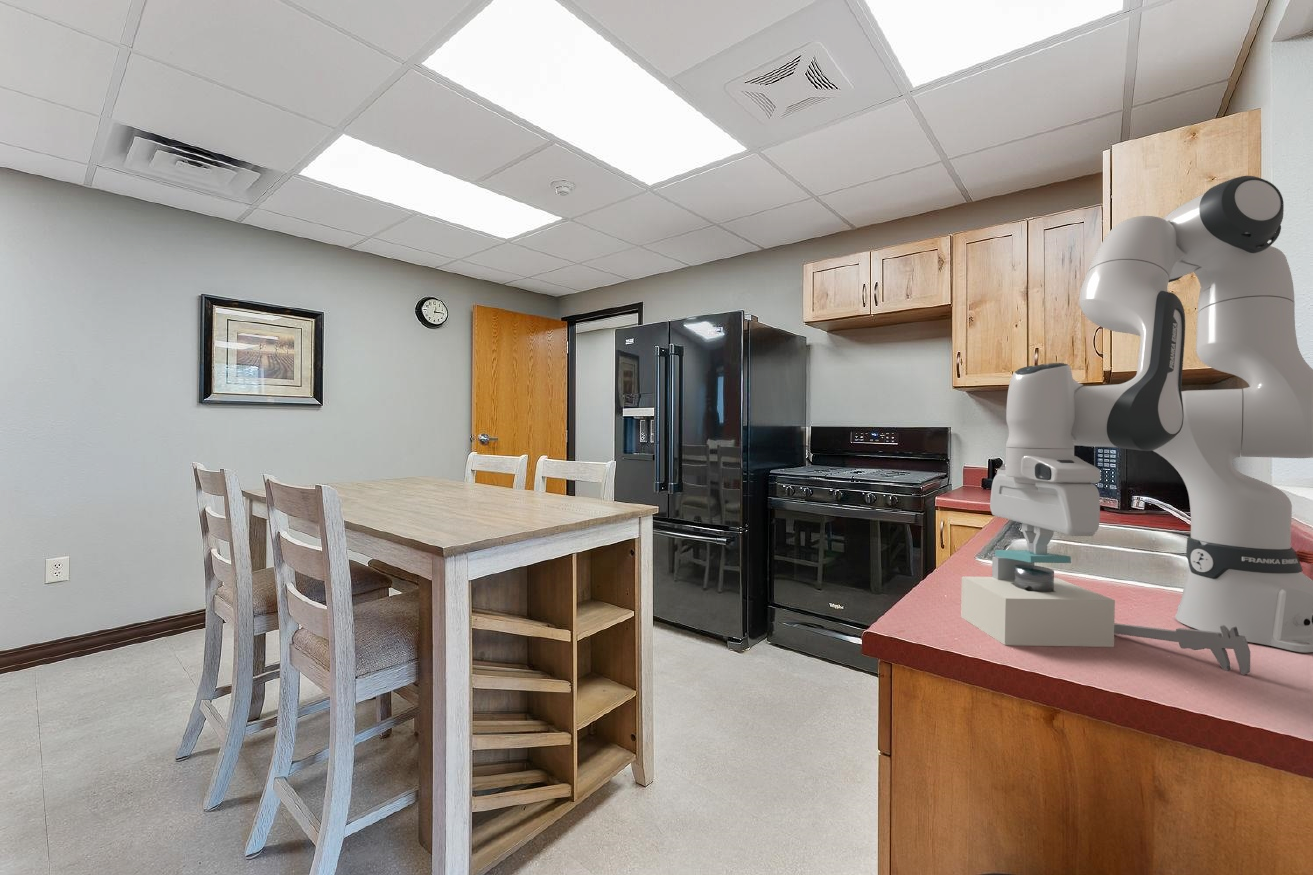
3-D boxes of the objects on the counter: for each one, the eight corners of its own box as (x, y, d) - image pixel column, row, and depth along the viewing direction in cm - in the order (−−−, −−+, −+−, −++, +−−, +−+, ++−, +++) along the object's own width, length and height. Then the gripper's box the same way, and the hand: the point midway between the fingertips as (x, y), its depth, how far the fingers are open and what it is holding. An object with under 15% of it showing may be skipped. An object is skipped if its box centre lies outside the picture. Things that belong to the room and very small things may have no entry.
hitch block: (1055, 618, 93) (1057, 557, 92) (1113, 646, 81) (1115, 576, 80) (961, 617, 93) (962, 555, 93) (1004, 645, 81) (1006, 574, 81)
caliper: (1250, 676, 72) (1251, 629, 72) (1246, 678, 71) (1247, 630, 71) (1076, 625, 90) (1077, 587, 90) (1072, 626, 90) (1073, 588, 90)
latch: (1031, 556, 91) (1031, 550, 92) (1070, 563, 82) (1070, 556, 83) (995, 555, 92) (994, 549, 92) (1031, 562, 83) (1030, 555, 83)
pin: (1038, 622, 89) (1039, 564, 89) (1061, 634, 84) (1062, 573, 84) (1006, 621, 89) (1007, 564, 89) (1027, 633, 84) (1028, 572, 84)
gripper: (980, 462, 96) (979, 540, 96) (1064, 471, 75) (1062, 570, 76) (1016, 462, 96) (1015, 541, 96) (1110, 471, 75) (1108, 571, 75)
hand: (1036, 554), depth 86 cm, fingers closed, pressing on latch
